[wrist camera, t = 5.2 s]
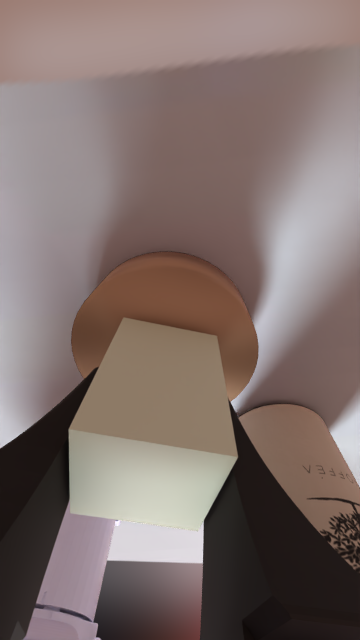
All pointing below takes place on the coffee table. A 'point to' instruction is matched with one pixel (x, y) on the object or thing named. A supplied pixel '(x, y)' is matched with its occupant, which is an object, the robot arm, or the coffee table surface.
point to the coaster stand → (169, 311)
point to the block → (153, 429)
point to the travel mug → (310, 472)
